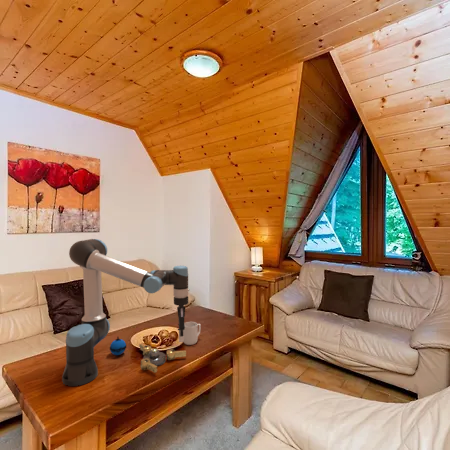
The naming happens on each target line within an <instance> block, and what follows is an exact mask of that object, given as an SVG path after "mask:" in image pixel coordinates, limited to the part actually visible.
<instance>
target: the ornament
mask: <svg viewBox="0 0 450 450" xmlns="http://www.w3.org/2000/svg"><path fill="white" fill-rule="evenodd" d="M110 343H111V344H110V346H109V351H110V353H111V354H112V355H114V356H120V355H122V354H124V352H125V351H126V349H127V343H126V341H125V340H124V339H122V338H119V336H117V338H116V339H114V340H113V341H112V342H110Z"/></svg>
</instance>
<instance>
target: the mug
mask: <svg viewBox="0 0 450 450" xmlns="http://www.w3.org/2000/svg"><path fill="white" fill-rule="evenodd" d="M184 326H185V329H184V342H183V343H184V345H187V346H192V345H196V343H197V342H198V337H199V335H200V334H201V330H202V329H201V326H202V325H201V323H197V322H196V321H186V322H184Z"/></svg>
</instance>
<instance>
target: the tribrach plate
mask: <svg viewBox="0 0 450 450" xmlns="http://www.w3.org/2000/svg"><path fill="white" fill-rule="evenodd" d="M145 358H148V359H150V363H151V364H154V365H156V366H157V367H160V366H163V365H164V364H165V363H166V360H167V354H166V353H164V352H163V351H162V352H161V351H160V349H157V348H151V351H150V353H148V354H146V355H145V356H144V355H143V358H142V359H145Z"/></svg>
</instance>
